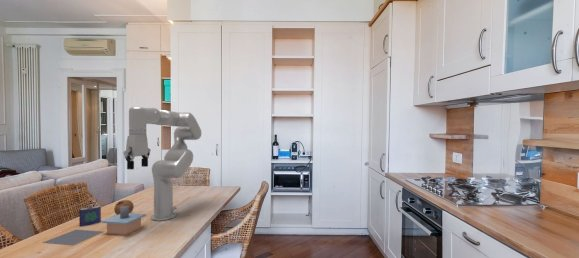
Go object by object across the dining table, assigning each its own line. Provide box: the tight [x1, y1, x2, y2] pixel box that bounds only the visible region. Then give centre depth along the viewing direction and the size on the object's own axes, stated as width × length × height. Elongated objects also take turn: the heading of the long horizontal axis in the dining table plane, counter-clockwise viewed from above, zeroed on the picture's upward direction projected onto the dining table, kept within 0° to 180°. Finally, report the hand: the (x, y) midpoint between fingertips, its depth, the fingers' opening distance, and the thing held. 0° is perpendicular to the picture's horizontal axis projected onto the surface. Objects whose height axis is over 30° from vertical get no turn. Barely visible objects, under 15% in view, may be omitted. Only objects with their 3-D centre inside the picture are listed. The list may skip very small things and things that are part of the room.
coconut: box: [113, 199, 135, 215], centre depth 160 cm, size 10×9×10 cm
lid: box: [101, 206, 147, 224], centre depth 136 cm, size 13×13×6 cm
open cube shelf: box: [106, 218, 142, 237], centre depth 135 cm, size 10×10×6 cm
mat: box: [42, 229, 104, 246], centre depth 128 cm, size 16×16×1 cm
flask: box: [78, 204, 102, 228], centre depth 145 cm, size 9×3×11 cm, turn 138°
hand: (137, 167), depth 137 cm, fingers open, 9 cm apart
